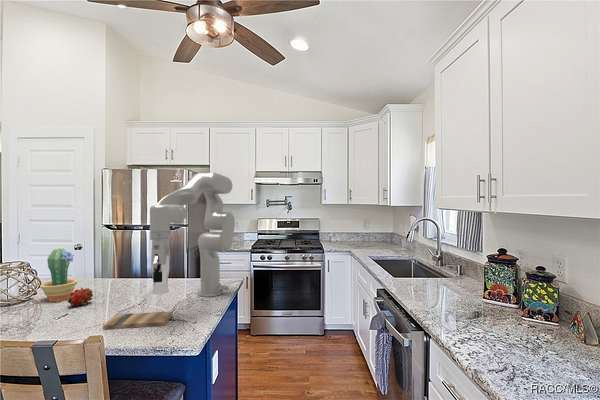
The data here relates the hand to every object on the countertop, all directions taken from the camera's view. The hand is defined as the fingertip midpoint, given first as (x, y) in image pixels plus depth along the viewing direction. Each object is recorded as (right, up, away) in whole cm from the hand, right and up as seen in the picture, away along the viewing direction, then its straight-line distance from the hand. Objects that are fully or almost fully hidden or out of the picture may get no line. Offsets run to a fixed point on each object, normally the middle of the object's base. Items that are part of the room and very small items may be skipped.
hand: (160, 279), depth 132 cm
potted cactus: (-64, -17, +31) cm, 73 cm away
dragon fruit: (-46, -17, +20) cm, 53 cm away
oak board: (-8, -16, -2) cm, 18 cm away
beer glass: (0, -5, 0) cm, 5 cm away
